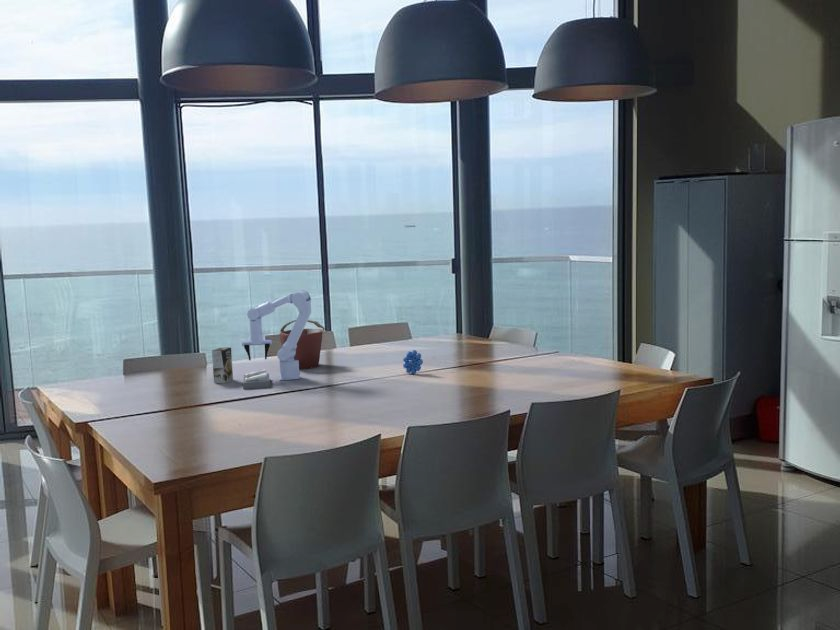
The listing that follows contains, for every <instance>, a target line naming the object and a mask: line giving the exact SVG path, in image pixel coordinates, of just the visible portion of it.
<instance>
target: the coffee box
mask: <svg viewBox="0 0 840 630" xmlns="http://www.w3.org/2000/svg"><path fill="white" fill-rule="evenodd" d="M211 353H212V355H211V357H212V375H213V383H214V384H226V383H228V382H231V381H232V380H234V375H233V374H234V373H233V359H232V358H233V355H232V347H219V348H216V349H212V350H211Z"/></svg>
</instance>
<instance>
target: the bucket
mask: <svg viewBox="0 0 840 630" xmlns="http://www.w3.org/2000/svg"><path fill="white" fill-rule="evenodd" d="M295 321H296V319H294V320H292V321H288V322H287V323H285V324H283V326H282V327H281V328H280V330H279V331H280V332H279V340H280V343H281V347H282V346H283V345H284V343H285V342H286V341H287V339H288V336H289V334H290V332H291V330H292V329H287V330H285V329H286V328H287V327H288V326H289V325H291V324H293V323H295ZM307 323H311V324H314V325H315V326H317V328H304V329H303V331H302V333H301V336H300V338H299V340H298V342H297V348H296V354H295V356H294V360H298V361H299V370H308V369H314V368H319V366H320V358H321V351H322V350H321V348H322V342H323V333H324V331H325V326H323V325H322V324H321V323H319V322H318V321H315V320H312V319H308V321H307ZM318 328H319V329H318Z"/></svg>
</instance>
